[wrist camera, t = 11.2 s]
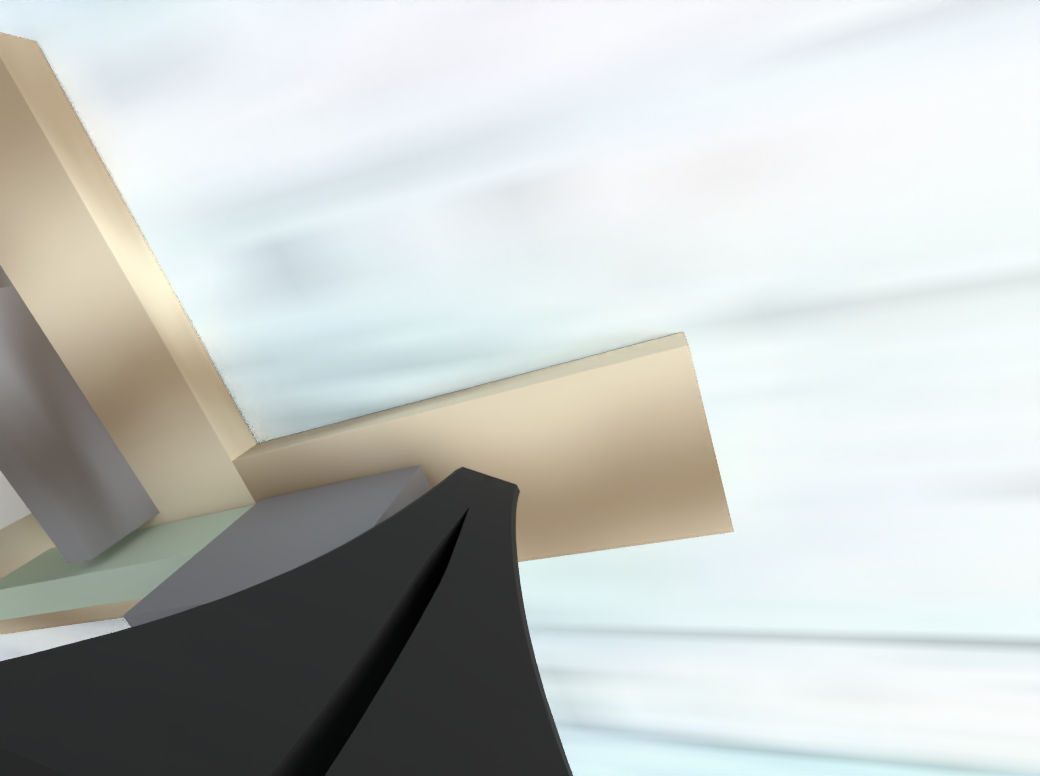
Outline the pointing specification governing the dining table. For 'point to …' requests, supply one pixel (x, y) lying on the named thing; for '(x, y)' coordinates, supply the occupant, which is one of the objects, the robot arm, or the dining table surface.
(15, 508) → the white cube block
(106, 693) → the robot arm
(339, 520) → the gate
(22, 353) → the beige board
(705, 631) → the dining table surface
